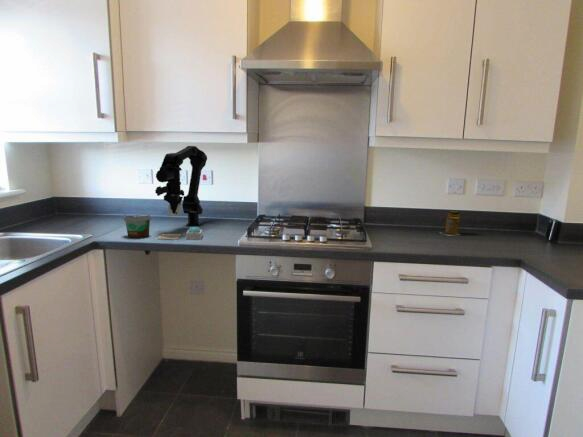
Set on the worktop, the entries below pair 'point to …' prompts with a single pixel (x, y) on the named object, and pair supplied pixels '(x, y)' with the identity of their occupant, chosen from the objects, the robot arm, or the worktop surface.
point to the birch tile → (169, 236)
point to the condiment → (452, 224)
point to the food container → (137, 226)
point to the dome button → (194, 230)
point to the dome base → (194, 235)
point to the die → (178, 212)
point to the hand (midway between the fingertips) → (175, 212)
